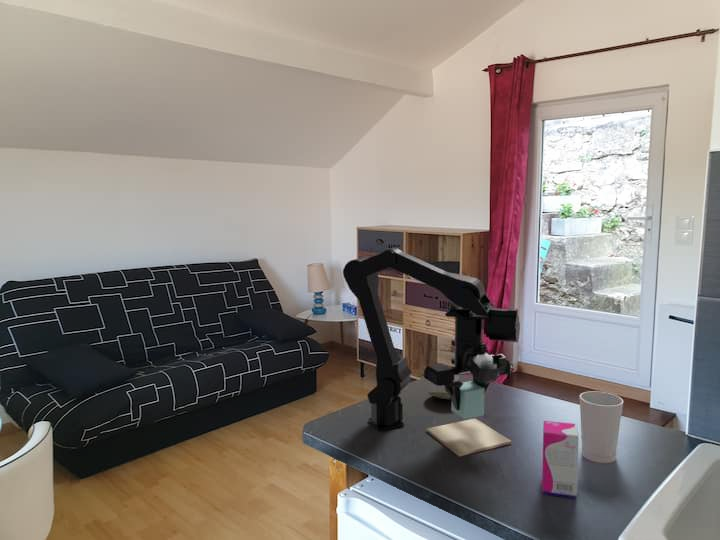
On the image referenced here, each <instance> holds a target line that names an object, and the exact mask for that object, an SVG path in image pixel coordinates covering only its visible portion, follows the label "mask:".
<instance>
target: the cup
mask: <svg viewBox="0 0 720 540" xmlns="http://www.w3.org/2000/svg"><path fill="white" fill-rule="evenodd" d="M623 409H624V399H623V398H622V397H620V396H619V395H616V394H614V393H610V392H605V391H598V390H596V391H595V390H594V391H593V390H591V391H585V392H582V393H580V394H579V413H580V415H579V416H580V432H581V437H580V438H581V455H582V456H583V458H585V459H587V460H588V461H590V462H594V463H599V464H612V463H614V462H615V461H616V460H617V447H618V440H619V433H620V425H621V419H622V415H623V414H622V413H623Z"/></svg>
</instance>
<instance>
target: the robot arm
mask: <svg viewBox="0 0 720 540" xmlns="http://www.w3.org/2000/svg"><path fill="white" fill-rule="evenodd" d="M386 269H393V270H395V271H398V272H400V273H401V274H404V275H405V276H408V277H410V278H413V279H414V280H417V281H419V282H420V283H422V284H425V285H427V286H429V287H431V288H433V289H435V290H437V291H439V292H440V293H441V294H442V295H443V296H444V297H445V298H446V299H447V300H449V302H451V303H453V305H452V306H451V308H450V309H449V310H448V311H447V312H445V313H444V314H445V315H444V316H445V317H448V318H449V317H450V318H454V339H452V340H451V341H450V342H451V343H450V345H451V346H453V347H454V357H453V358H451V359H450V360H451V361H450V363H451V364H452V365H454V366H451V367H449V366H447V365H445V364H443V363H435V364H428V365H426V366H425V367H424V370H423V376H424V379H425V380H427V381H429V382H430V383H432V384H434V385H435V386H441V387H442V386H444V388H445V387H446V389H447V391H448V393H449V396H450V398H451V399H450V400H451V404H452V403H453V405H454V407H455V409H456V410H459V408H460V388H461V386H462V385H463V382H462V381H460V376H463V375H469V374H472V382H473V383H475V384H477V385H479V386H481V387H483V388H485V391H484V396H485V395H486V392H487V389H488V387H490V386H489V385H490V384H491V383H492V382H495V381H497V380H498V379H499V376H504V375H508V374H509V375H510V374H511V373H512V364H511V363H510V361H509V359H507V358H506V356H505V355H504V354H503V353H498V354H489V353H488V351H487V350H488V349H487V344H486V343H484V342H483V333H484V335H485V337H486V338H488V340H489V341H497V342H498V341H499V342H509V343H518V342H519V338H520V333H521V332H520V331H521V323H520V317H519V309H518V308H497V307H495V305H494V304H493V302H492V301H491V300H490V298H489V297H488V295H487V293H486V289H485V285H484V283H483V282H482V281H481V279H480V280H479V279H478V278H477V277H472V276H468V275H464V274H460V273H454V272H450V271H449V272H448V271H445V270H444V269H441V268H439V267H437V266H435V265H433V264H430V263H428V262H426V261H424V260H421V259H419V258H417V257H415V256H412V255H410V254H408V253H406V252H404V251H402V250H401V249H400V248H397V247H392V248H387V249H386V250H384V251H383V252H380V253H378V254H376V255H373V256H370V257H366V256H363V257H358V258H355V259H352V260H349V261H347V263H345V265H344V267H343V269H342V275H343V277H344V278H343V279H344V280H345V281H346V284H347V287H348V288H349V290H350V292H351V293H352V294H353V295H354V296H355V297H356V299H357V300H358V302H359V306H360V309H361V312H362V317H363V319H364V322H365V326H366V331H367V333H368V335H369V336H368V337H369V339H370V343H371V346H372V348H373V352H374V355H375V359H376V361H375V371H374V373H375V381H376V386H375V387H374V388H372V390H370V391H369V392H368V393H367V399H368V402H369V403H370V407H371V408H370V409H371V410H370V412H371V416H370V417H369V418H368V422H370V424H371V425H372V426H374V427H375V428H376V429H377V430H378V431H386V430H390V429H396V428H401V427H404V426H405V422H403V420H404V410H403V409H404V407H403V406H404V404H403V403H402V397H400V395H401V394H402V392H403V391H404V390H405V389H406V388H407V386H408V385H409V384H410V382H411V375H412V373H413V372H412V371H411V369H410V368H409V364H408V363H409V362H408V359H407V357H406V356H404V357H402V358H401V357H400V355H398V353H397V352H396V349H395V346H394V343H393V340H392V335H391V332H390V329H389V326H388V323H387V319H386V316H385V312H384V309H383V307H382V303H381V299H380V297H379V283H380V279H379V273H380V272H383V271H385V270H386Z"/></svg>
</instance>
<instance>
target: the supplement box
mask: <svg viewBox="0 0 720 540" xmlns="http://www.w3.org/2000/svg"><path fill="white" fill-rule="evenodd" d="M542 434H543V435H542V436H543V438H542V468H541V469H542V471H541V472H542V474H541V476H542V478H541V480H542V481H541V492H542V494H543V495H548V496H553V497H554V496H555V497H562V498H568V499H574V500H577V498H578V473H579V472H578V467H579V463H578V462H579V431H578V428H577V424H576V423H570V422H563V421H562V422H560V421H549V420H543V433H542Z"/></svg>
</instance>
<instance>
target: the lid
mask: <svg viewBox="0 0 720 540" xmlns="http://www.w3.org/2000/svg"><path fill="white" fill-rule="evenodd" d="M444 389H445V391H428V392H427V394H428V395H430V396H432V397H435V398H437V399H443V400H444V399H445V400H451V398H450V396H449V393H448V391H447V389H446V387H445V386H444Z"/></svg>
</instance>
